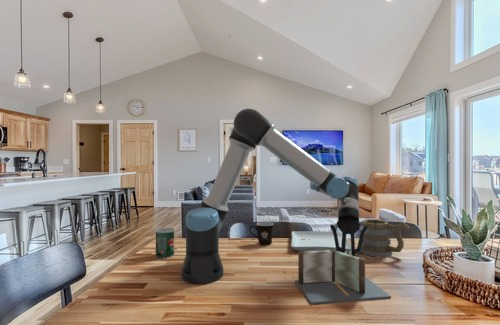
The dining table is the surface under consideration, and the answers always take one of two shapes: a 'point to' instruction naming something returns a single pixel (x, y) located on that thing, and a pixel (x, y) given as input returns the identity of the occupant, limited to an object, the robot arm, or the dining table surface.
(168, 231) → the canned tomato
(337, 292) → the card
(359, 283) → the folding panel
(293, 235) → the square plate
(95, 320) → the dining table surface
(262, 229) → the coffee mug
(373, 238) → the tankard
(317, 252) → the panel
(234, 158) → the robot arm
